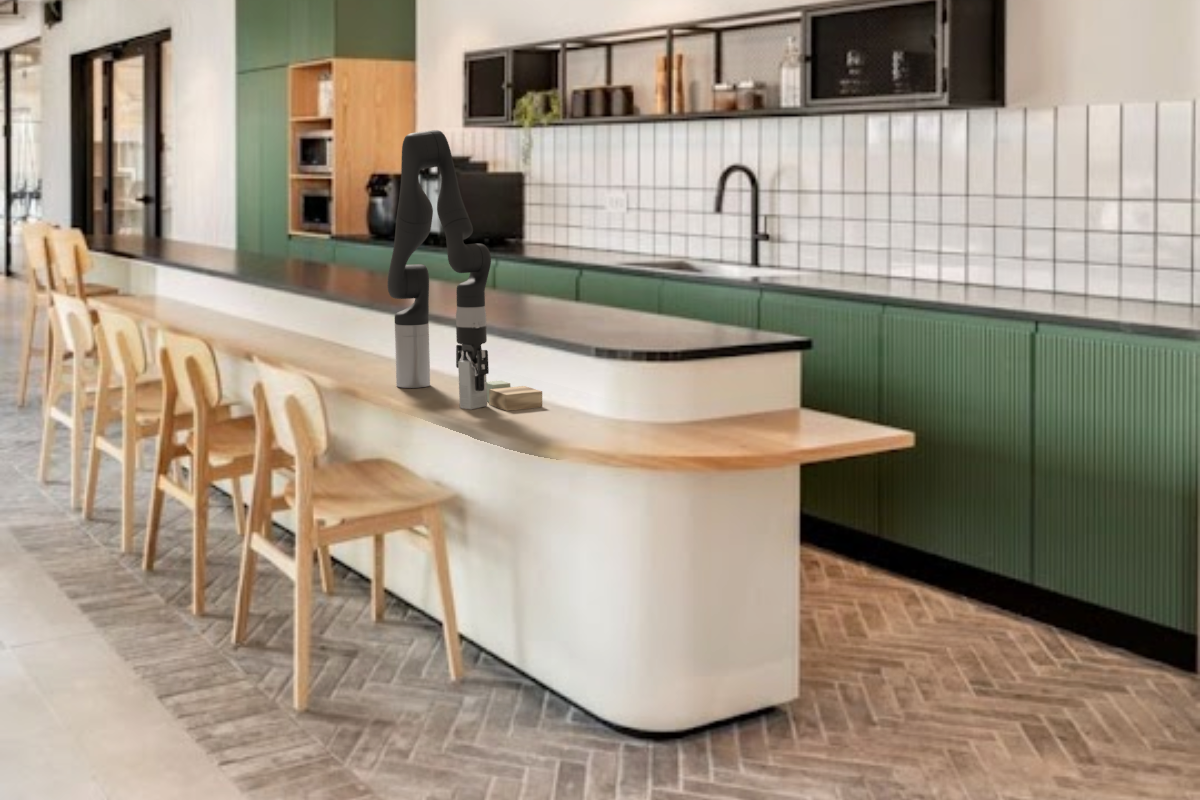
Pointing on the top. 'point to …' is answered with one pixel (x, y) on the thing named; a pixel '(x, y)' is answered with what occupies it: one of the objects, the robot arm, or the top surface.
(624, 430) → the top surface
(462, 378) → the skincare box
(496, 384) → the sage cube
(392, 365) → the top surface
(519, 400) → the block
